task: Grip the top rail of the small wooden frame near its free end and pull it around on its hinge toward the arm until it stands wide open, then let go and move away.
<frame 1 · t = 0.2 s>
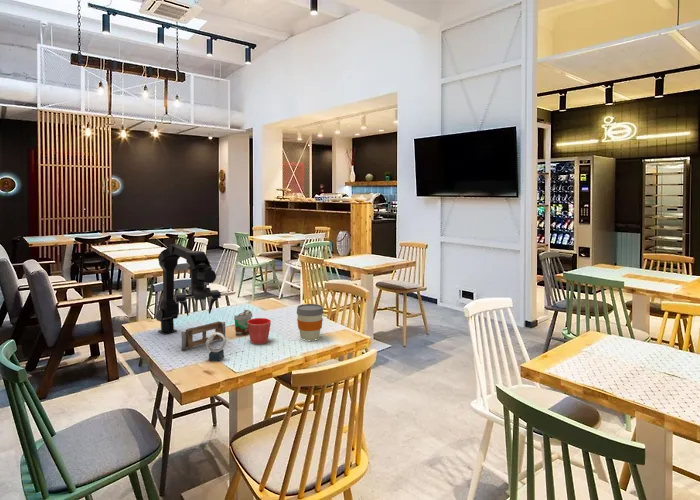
hand: (198, 314, 204), 14 cm above the table, tool pointing down, fingers open, 9 cm apart
food container: (245, 333, 224), on the table
gate posts: (204, 344, 206), on the table
watch: (216, 359, 189), on the table
flower pot: (259, 341, 212), on the table
wooden frame: (204, 334, 206), point 5 cm above the table, hinge at 0.0°
reusable coffee cup: (309, 338, 218), on the table
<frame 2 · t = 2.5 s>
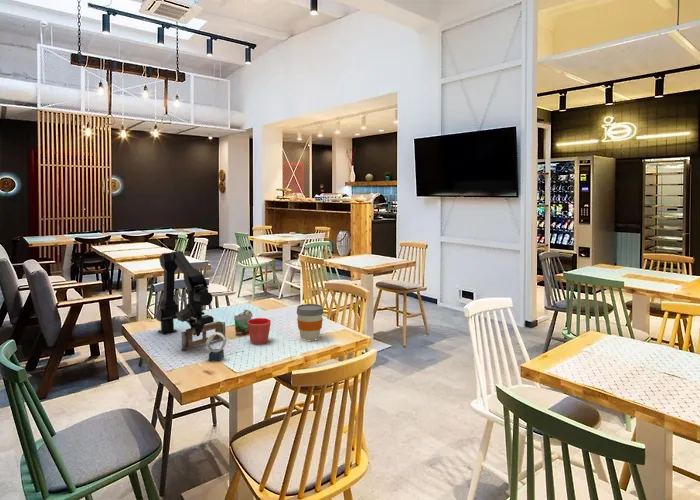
hand: (196, 335, 203), 5 cm above the table, tool pointing down, fingers closed on wooden frame, 2 cm apart
wooden frame: (204, 334, 206), point 5 cm above the table, hinge at 0.0°, touching gripper
everything else where it was.
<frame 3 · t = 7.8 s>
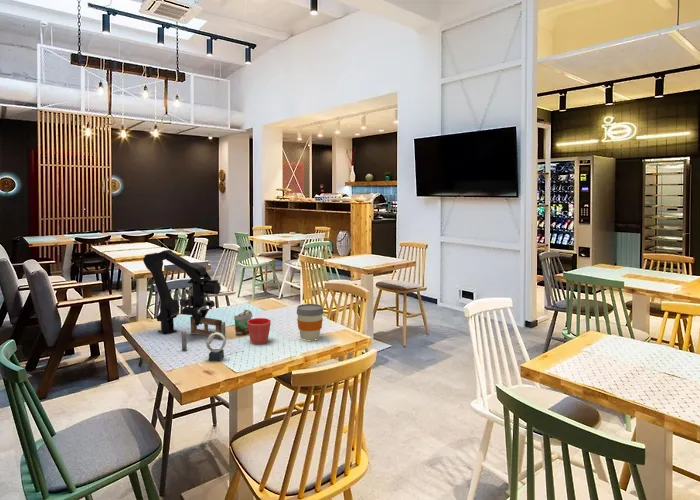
hand: (199, 324, 219), 5 cm above the table, tool pointing down, fingers closed on wooden frame, 2 cm apart
wooden frame: (206, 326, 217), point 5 cm above the table, hinge at 74.4°, touching gripper
everything else where it was.
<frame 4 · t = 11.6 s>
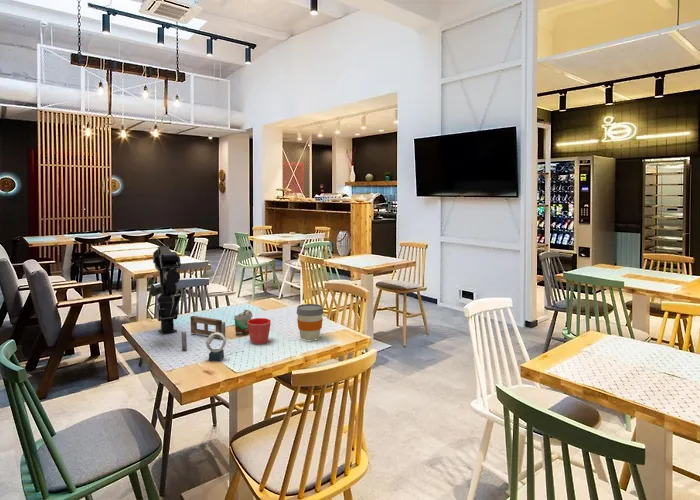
hand: (171, 313, 209), 13 cm above the table, tool pointing down, fingers open, 9 cm apart
wooden frame: (206, 326, 217), point 5 cm above the table, hinge at 74.4°
everything else where it was.
at the end: wooden frame at +74° (first picture: +0°); the gripper is holding nothing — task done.
